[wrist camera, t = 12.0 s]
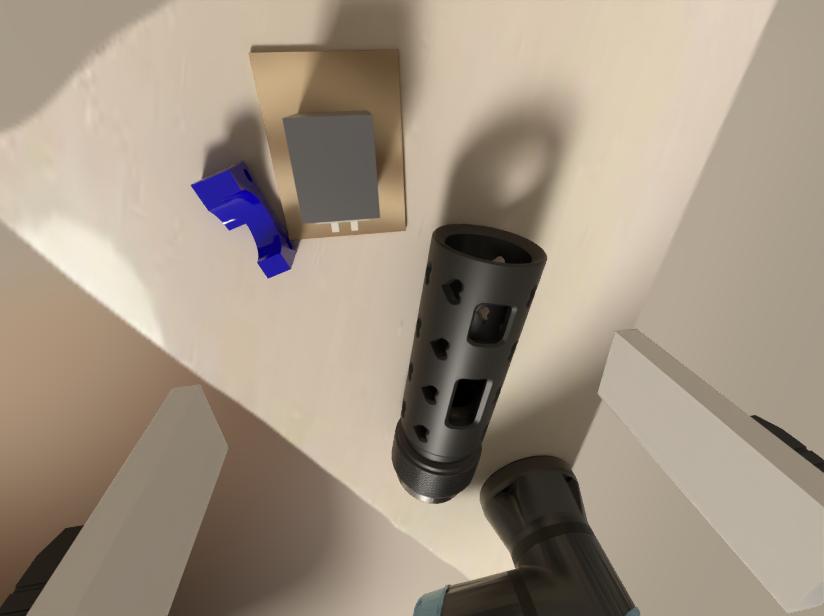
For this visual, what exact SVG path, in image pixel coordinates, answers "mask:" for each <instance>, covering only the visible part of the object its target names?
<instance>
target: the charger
mask: <svg viewBox="0 0 824 616" xmlns="http://www.w3.org/2000/svg"><path fill="white" fill-rule="evenodd" d="M282 120H283V125H284V130H285V135H286V141H287V146H288V151H289V156H290V161H291V166H292V171H293V177H294V182H295V187H296V192H297V197H298V202H299V207H300V212H301V218H302V223H303V224H307V223H316V224H327V223H331V227H332V232H339V224H338V223H340V222H351V230H352V231H357V230H358V222H357V221H366V220H369V219H374V218H380V208H379V195H378V182H377V169H376V156H375V143H374V131H373V118H372V114H371V113H370V112H369V111H367V110H361V111H336V112H311V113H296V114H293V115H290V116H287V117H284V118H282Z"/></svg>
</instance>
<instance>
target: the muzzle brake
mask: <svg viewBox="0 0 824 616" xmlns="http://www.w3.org/2000/svg"><path fill="white" fill-rule="evenodd" d="M499 256H501V257H503V258H504V260H505V263H501V262H494V261H492V260H494V259H495V258H497V257H499ZM546 261H547V255H546V253H545V252H544V250H543V249H542V248H541V247H540V246H538V245H537V244H535V243H534V242H532V241H530V240H528V239H526V238H524V237H521V236H519V235H516V234H513V233H510V232H507V231H503V230H500V229H495V228H491V227H485V226H477V225H467V224H451V225H445V226H442V227H439V228H437V229H436V230H435V231H434V232H433V234H432V239H431V245H430V251H429V256H428V262H427V268H426V273H425V279H424V285H423V290H422V296H421V302H420V307H419V313H418V319H417V325H416V330H415V336H414V342H413V347H412V353H411V359H410V365H409V370H408V376H407V381H406V387H405V393H404V398H403V404H402V410H401V418H400V419H399V421H398V423H397V426H396V430H395V435H394V441H393V447H392V462H393V466H394V469H395V471H396V473H397V476H398V479H399V481H400V483H401V485H402V486H403V488H404V489H405V490H406V491H407V492H408V493H409V494H410V495H412V496H413V497H415V498H416V499H418V500H420V501H423V502H426V503H430V504H439V503H444V502H446V501H449V500H451V499H452V498H454V497H455V496H456V495H457V494H458V493H459V492H461V491H462V490H464V489H465V488H466V487H467V486H468V485H469V483H470V482H471V480H472V478H473V476H474V473H475V470H476V467H477V464H478V462H479V459H480V456H481V451H482V441H483V439H484V436H485V434H486V431H487V428H488V424H489V422H490V419H491V417H492V414H493V411H494V408H495V405H496V403H497V400H498V397H499V394H500V391H501V387H502V386H503V383H504V380H505V377H506V374H507V371H508V369H509V366H510V363H511V360H512V357H513V354H514V352H515V349H516V345H517V343H518V340H519V337H520V335H521V332H522V329H523V326H524V323H525V320H526V318H527V315H528V312H529V309H530V306H531V304H532V301H533V298H534V295H535V291H536V289H537V287H538V284H539V281H540V278H541V275H542V272H543V270H544V267H545V264H546ZM483 307H488V308H489V309H490V313H489V314H488V316H487V318H488V320H484V319H483V318H482V316H481V314H480V312H479V309H481V308H483Z"/></svg>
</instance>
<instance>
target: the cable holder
mask: <svg viewBox="0 0 824 616" xmlns="http://www.w3.org/2000/svg"><path fill="white" fill-rule="evenodd" d="M191 187H192V188H193V189H194V191H195V192H196V194H197V195H198V197H199V198H200V199H201V201H202V202H203V204H204V205H205V206H206V208H207V209H208V211H210V212H211V213H213V214H214V215H215V216H217V217H218V218H219V219H220V220H221V221H222V222H223V223H224V225H225V226H226V227H227V228H228V230H232V229H234V228H236V227H239V226H241V225H243V224H247V226H248V227H249V229H250V231H251V233H252V235H253V237H254V240H255V242H256V245H257V249H258V262H257V263H258V265H259V266H260V268H261V269H262V270H263V272H264V273H265V275H266V276H267V278H270V277H273V276H275V275H278V274H280V273H283V272H285V271H287V270H290V269H291V267H292V264H293V261H294V258H295V255H296V252H297V250H296V249H295V247H294V245H293V244H292V242H291V240H289V237H288V235H287V234H286V232H285V230H284V229H283V227H282V225H281V224H280V222H279V220H278V219H277V217H276V215H275V214H274V212H273V210H272V208H271V207H270V205H269V203H268V202H267V200H266V198H265V197H264V195H263V193H262V192H261V190H260V188H259V187H258V185H257V183H256V182H255V180H254V178H253V177H252V175H251V173H250V172H249V170H248V168H247V167H246V165H245V163H244V162H243V161H241V162H239V163H236V164H234V165H232V166H230V167H227V168H225V169H223V170H220V171H218V172H216V173H214V174H211V175H209V176H207V177H205V178H202V179H200V180H199V181H197V182H195V183H193V184H192V185H191Z"/></svg>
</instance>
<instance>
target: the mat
mask: <svg viewBox="0 0 824 616" xmlns="http://www.w3.org/2000/svg"><path fill="white" fill-rule="evenodd" d="M249 58H250V62H251V67H252V71H253V76H254V80H255V85H256V90H257V94H258V99H259V103H260V108H261V112H262V117H263V121H264V126H265V131H266V135H267V140H268V144H269V149H270V153H271V158H272V162H273V167H274V172H275V176H276V181H277V185H278V190H279V194H280V199H281V203H282V208H283V213H284V217H285V222H286V226H287V231H288V235H289V240H296V239H309V238H321V237H334V236H346V235H359V234H371V233H384V232H396V231H406V227H405V203H404V179H403V154H402V130H401V105H400V81H399V56H398V50H357V51H309V52H261V53H249ZM361 110H367V111H369V112H370V113H371V114H372V118H373V131H374V143H375V156H376V169H377V182H378V195H379V208H380V218H374V219H369V220H366V221H357V222H358V230H357V231H352V230H351V222H340V223H338V224H339V232H332V227H331V223H327V224H316V223H307V224H303V223H302V218H301V212H300V207H299V202H298V197H297V192H296V187H295V182H294V177H293V171H292V166H291V161H290V156H289V151H288V146H287V141H286V135H285V130H284V125H283V120H282V118H284V117H287V116H290V115H293V114H296V113H311V112H336V111H361Z"/></svg>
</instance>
